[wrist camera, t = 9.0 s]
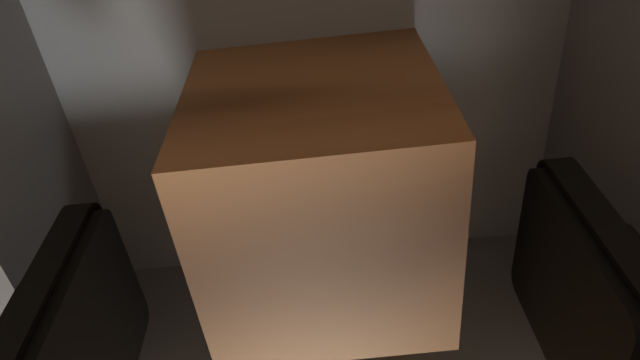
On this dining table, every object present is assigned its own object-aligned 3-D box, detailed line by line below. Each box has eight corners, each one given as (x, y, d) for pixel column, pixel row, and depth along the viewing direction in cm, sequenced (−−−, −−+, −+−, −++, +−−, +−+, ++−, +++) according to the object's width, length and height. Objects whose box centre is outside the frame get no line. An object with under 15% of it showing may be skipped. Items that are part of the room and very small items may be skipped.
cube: (413, 201, 15) (458, 349, 11) (236, 219, 15) (216, 372, 11) (414, 27, 12) (476, 140, 8) (196, 50, 12) (151, 174, 8)
